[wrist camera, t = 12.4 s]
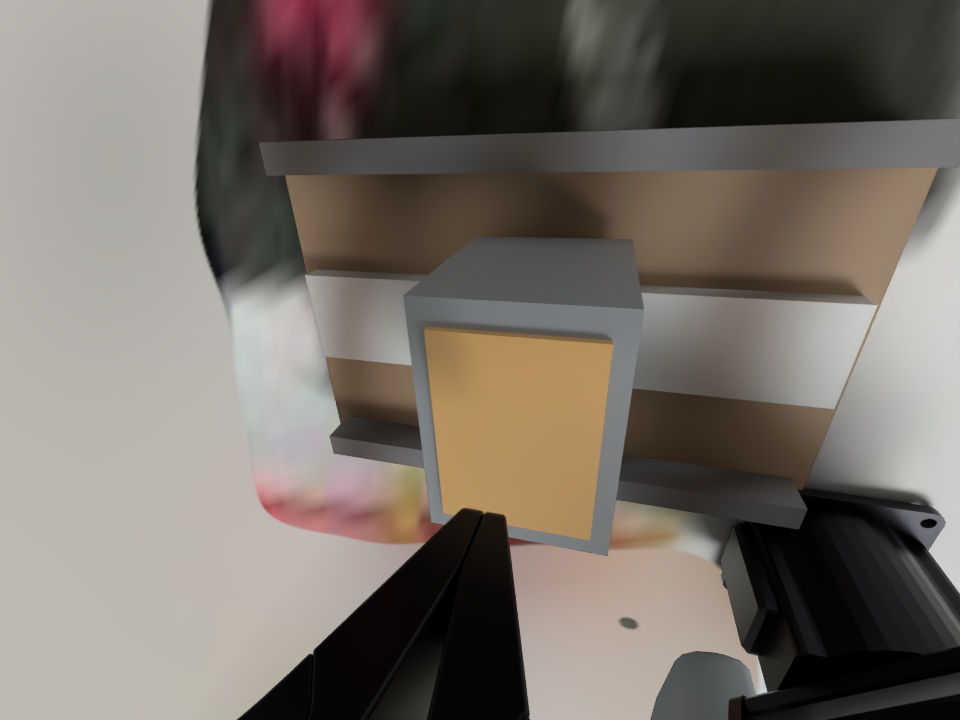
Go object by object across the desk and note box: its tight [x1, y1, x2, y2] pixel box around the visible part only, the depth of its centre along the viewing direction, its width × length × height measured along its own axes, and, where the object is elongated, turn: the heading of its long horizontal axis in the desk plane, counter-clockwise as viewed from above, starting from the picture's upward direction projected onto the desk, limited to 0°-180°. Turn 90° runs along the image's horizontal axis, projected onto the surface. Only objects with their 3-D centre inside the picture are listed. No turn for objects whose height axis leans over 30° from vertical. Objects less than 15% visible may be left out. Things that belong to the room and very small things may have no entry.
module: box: [403, 236, 644, 556], centre depth 13 cm, size 5×7×6 cm
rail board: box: [259, 119, 960, 529], centre depth 16 cm, size 20×13×3 cm, turn 92°
